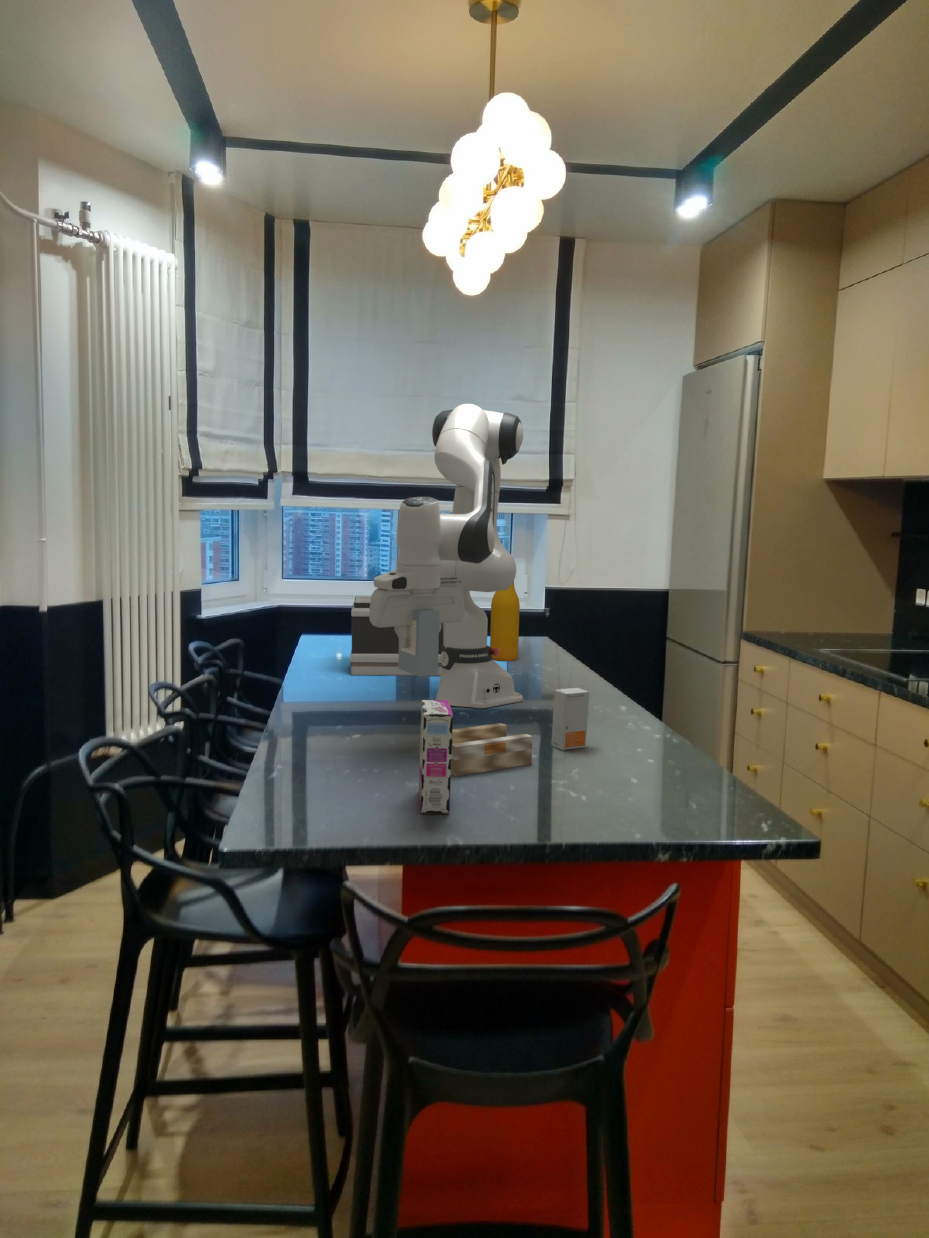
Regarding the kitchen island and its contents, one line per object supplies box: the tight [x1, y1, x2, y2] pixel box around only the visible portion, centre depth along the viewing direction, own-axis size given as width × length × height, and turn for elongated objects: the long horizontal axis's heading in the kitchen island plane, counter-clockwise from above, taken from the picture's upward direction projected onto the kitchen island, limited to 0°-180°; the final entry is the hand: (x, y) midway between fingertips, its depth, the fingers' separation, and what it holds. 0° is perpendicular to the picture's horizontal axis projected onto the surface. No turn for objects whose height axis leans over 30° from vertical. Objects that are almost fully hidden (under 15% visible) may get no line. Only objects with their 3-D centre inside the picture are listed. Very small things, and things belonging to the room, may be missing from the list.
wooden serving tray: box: [451, 722, 533, 777], centre depth 166 cm, size 17×11×6 cm, turn 120°
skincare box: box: [551, 687, 590, 751], centre depth 178 cm, size 6×4×12 cm
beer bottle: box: [489, 580, 521, 662], centre depth 276 cm, size 9×9×29 cm
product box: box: [398, 609, 439, 677], centre depth 174 cm, size 4×9×13 cm, turn 31°
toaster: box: [349, 595, 443, 677], centre depth 254 cm, size 18×34×21 cm, turn 96°
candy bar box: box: [418, 699, 454, 815], centre depth 142 cm, size 11×5×16 cm, turn 5°
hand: (417, 646), depth 175 cm, fingers closed on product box, 5 cm apart
